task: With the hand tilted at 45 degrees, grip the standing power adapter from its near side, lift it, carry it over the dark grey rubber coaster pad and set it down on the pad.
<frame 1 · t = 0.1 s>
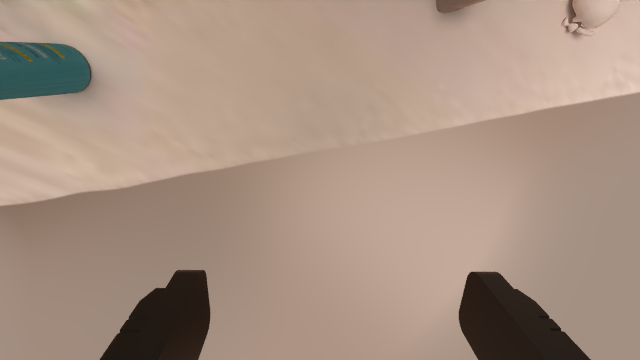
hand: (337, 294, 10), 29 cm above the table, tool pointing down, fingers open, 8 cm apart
tube: (67, 67, 34), on the table
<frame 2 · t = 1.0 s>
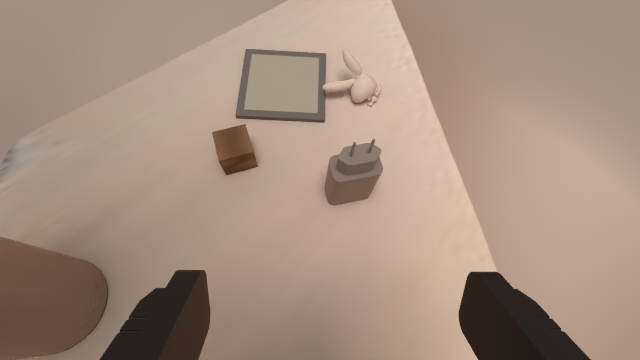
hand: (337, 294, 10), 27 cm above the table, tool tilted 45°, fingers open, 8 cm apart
power adapter: (346, 191, 40), on the table
pad: (283, 85, 46), on the table
rabbit figurine: (348, 93, 46), on the table
walnut block: (238, 157, 41), on the table
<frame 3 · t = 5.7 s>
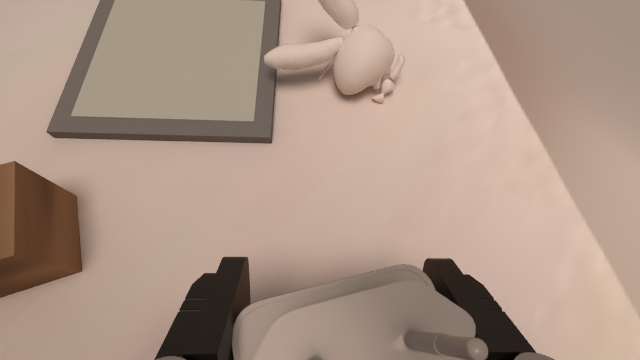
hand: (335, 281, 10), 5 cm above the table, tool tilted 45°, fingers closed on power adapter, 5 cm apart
power adapter: (324, 335, 15), on the table, touching gripper
pad: (182, 59, 20), on the table
rabbit figurine: (330, 76, 21), on the table
walnut block: (35, 245, 15), on the table
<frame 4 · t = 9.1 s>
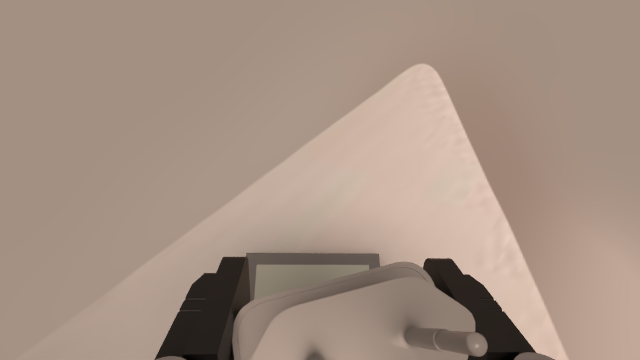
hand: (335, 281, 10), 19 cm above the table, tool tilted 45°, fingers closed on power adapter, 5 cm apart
power adapter: (325, 333, 15), point 14 cm above the table, touching gripper
pad: (312, 326, 27), on the table
when the fingers open (8 cm above the table, at t = 12.2 s): power adapter drops 2 cm, resting on pad.
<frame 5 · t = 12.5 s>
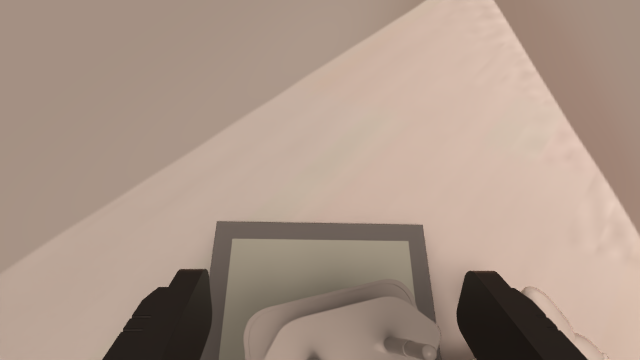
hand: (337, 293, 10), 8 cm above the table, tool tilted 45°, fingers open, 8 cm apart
power adapter: (320, 336, 16), point 1 cm above the table, touching pad
pad: (321, 337, 17), on the table
rabbit figurine: (497, 350, 17), on the table
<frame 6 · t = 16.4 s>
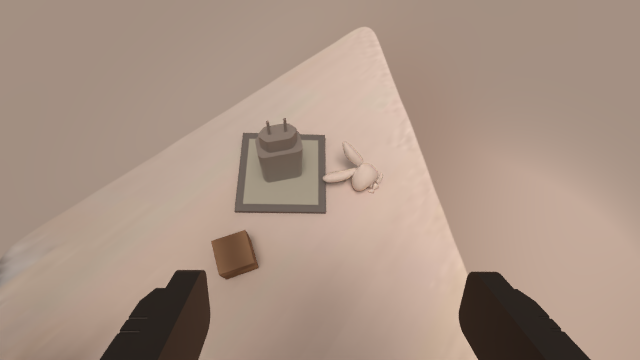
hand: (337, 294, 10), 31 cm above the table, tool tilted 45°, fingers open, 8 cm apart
power adapter: (282, 170, 45), resting on pad
pad: (282, 172, 45), on the table
rabbit figurine: (349, 178, 46), on the table
walnut block: (238, 258, 40), on the table
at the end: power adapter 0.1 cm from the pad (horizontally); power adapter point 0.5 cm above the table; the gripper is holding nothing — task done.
